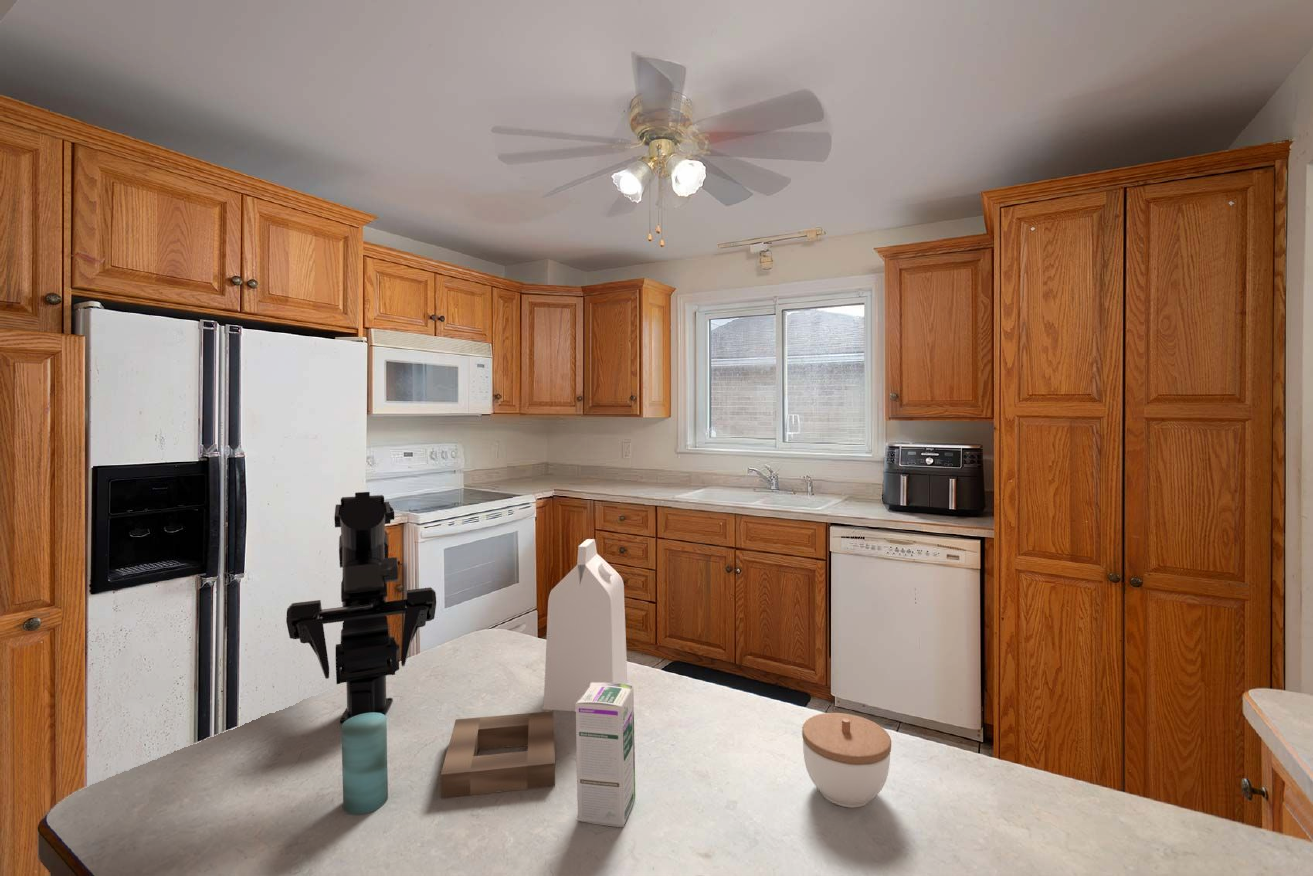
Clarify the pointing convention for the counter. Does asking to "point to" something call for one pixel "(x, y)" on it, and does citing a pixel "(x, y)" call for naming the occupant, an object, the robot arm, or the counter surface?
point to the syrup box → (605, 754)
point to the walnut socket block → (499, 755)
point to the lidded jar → (846, 757)
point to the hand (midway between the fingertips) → (366, 671)
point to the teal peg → (364, 763)
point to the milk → (584, 631)
